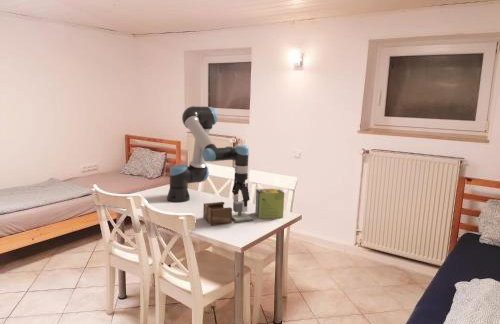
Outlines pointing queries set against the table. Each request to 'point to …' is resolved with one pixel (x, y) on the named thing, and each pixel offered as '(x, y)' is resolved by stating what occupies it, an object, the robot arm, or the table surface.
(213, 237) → the table surface
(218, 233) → the table surface
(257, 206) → the protein box
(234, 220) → the rubber mat
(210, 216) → the walnut box
